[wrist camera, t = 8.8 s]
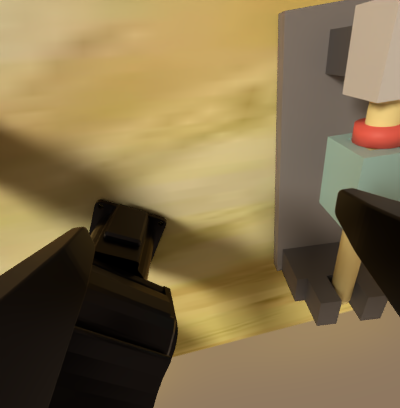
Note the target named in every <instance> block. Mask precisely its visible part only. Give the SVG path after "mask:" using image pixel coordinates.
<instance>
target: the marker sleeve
mask: <svg viewBox="0 0 400 408" xmlns="http://www.w3.org/2000/svg"><path fill="white" fill-rule="evenodd" d="M351 139H352V133H348V134H342V135H335V136H329V137H328V139H327V147H326V154H325V162H324V169H323V177H322V184H321V192H320V199H319V203H320V204H321V205H322V206H323V207H324V209H325V210H326V211H327V212H328V213H329V214H330V215H331V217H332V218H333V219H334V220H335V221H336V222H337V223H338V225H339V226H340V227H341V225H340V223H339V221H338V219H337V217H336V215H335V206H336V200H337V195H338V192H339V191H340V190H341V189H348V188H355V189H358V190H361V191H365V192H368V193H372V194H375V195H379V196H382V197H385V198H389V199H392V200H396V201H399V202H400V147H397V148H390V149H377V150H371V151H370V150H368V149H366V148H364V147H361V146H358V145H356V144H354V143H352V141H351ZM341 228H342V227H341Z"/></svg>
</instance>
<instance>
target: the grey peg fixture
mask: <svg viewBox="0 0 400 408" xmlns="http://www.w3.org/2000/svg"><path fill="white" fill-rule="evenodd" d="M348 133H352V139H351V141H352V143H354V144H356V145H358V146H361V147H364V148H366V149H368V150H370V151H371V150H377V149H390V148H397V147H400V0H344V1H338V2H333V3H327V4H321V5H316V6H310V7H305V8H299V9H293V10H288V11H284V12H282V13H279V19H278V71H277V122H276V174H275V226H274V264H275V267H276V269H277V271H280V270H282V272H283V274H284V277H285V279H286V281H287V284H288V286H289V288H290V291H291V293H292V295H293V298H294V300H295V301H301V300H305V302H306V304H307V306H308V308H309V310H310V312H311V314H312V316H313V319H314V321H315V323H316V325H317V326H319V325H327V324H336V322H337V318H338V314H339V311H340V307H341V304H346V303H348V302H349V303H350V305H351V306H352V308H353V310H354V311H355V313H356V314H357V316H358V317H359V319H360V320H369V319H378V318H380V317H381V315H382V313H383V310H384V307H385V305H386V303H387V300H388V299H387V298H386V296H385V295H384V293H383V292H382V291H381V289H380V288H379V286H378V285H377V283H376V282H375V280H374V279H373V277H372V276H371V275H370V273H369V272H368V270H367V269H366V267H365V266H364V264H363V263H362V262H361V260H360V259H359V257H358V256H357V254H356V253H355V251H354V249H353V247H352V246H351V244H350V242H349V240H348V238H347V236H346V234H345V233H344V231H343V229H342V228H341V227H340V226H339V225H338V223H337V222H336V221H335V220H334V219H333V218H332V217H331V215H330V214H329V213H328V212H327V211H326V210H325V209H324V207H323V206H322V205H321V204H320V203H319V199H320V192H321V184H322V177H323V169H324V162H325V154H326V147H327V139H328V137H329V136H335V135H342V134H348Z"/></svg>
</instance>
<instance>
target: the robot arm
mask: <svg viewBox="0 0 400 408" xmlns="http://www.w3.org/2000/svg"><path fill="white" fill-rule="evenodd" d="M99 204H102V205H103V206H104V207H101V206H100V205H99ZM335 215H336V217H337V219H338V221H339V223H340V225H341V227H342V229H343V231H344V233H345V234H346V236H347V238H348V240H349V242H350V244H351V246H352V247H353V249H354V251H355V253H356V254H357V256H358V257H359V259H360V260H361V262H362V263H363V264H364V266H365V267H366V269H367V270H368V272H369V273H370V275H371V276H372V277H373V279H374V280H375V282H376V283H377V285H378V286H379V288H380V289H381V291H382V292H383V293H384V295H385V296H386V298H387V299H388V301H389V302H390V304H391V305H392V306H393V308H394V309H395V311H396V312H397V314H398V315H399V316H400V202H399V201H396V200H392V199H389V198H385V197H382V196H379V195H375V194H372V193H368V192H365V191H361V190H358V189H355V188H348V189H341V190H340V191H339V192H338V195H337V200H336V206H335ZM159 222H163V223H159ZM165 226H166V219H165V218H163V217H160V216H157V215H153V214H150V213H147V212H145V211H141V210H138V209H134V208H131V207H128V206H124V205H119V204H116V203H112V202H109V201H105V200H98V201H97V202H96V204H95V207H94V212H93V217H92V222H91V227H90V232H88V230H87V229H86V228H85V227H77V228H73V229H71V230H69V231H68V232H66V233H65V234H63V235H62V236H60V237H59V238H57V239H56V240H54V241H53V242H51V243H49V244H48V245H46V246H45V247H43V248H42V249H40V250H39V251H37V252H36V253H34V254H33V255H31V256H30V257H28V258H27V259H25V260H23V261H22V262H20V263H19V264H17V265H16V266H14V267H13V268H11V269H10V270H8V271H7V272H5V273H4V274H2V275H1V276H0V408H153V407H154V403H155V399H156V396H157V393H158V390H159V387H160V385H161V382H162V379H163V377H164V375H165V372H166V371H167V369H168V366H169V364H170V362H171V358H172V356H173V353H174V350H175V346H176V342H177V335H178V326H177V320H176V315H175V311H174V306H173V301H172V296H171V291H170V288H167V287H165V286H163V287H162V286H159V285H157V284H155V283H152V282H150V281H148V280H147V279H148V273H149V268H150V264H151V261H152V259H153V256H154V253H155V251H156V248H157V246H158V243H159V241H160V238H161V236H162V233H163V231H164V228H165Z"/></svg>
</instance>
